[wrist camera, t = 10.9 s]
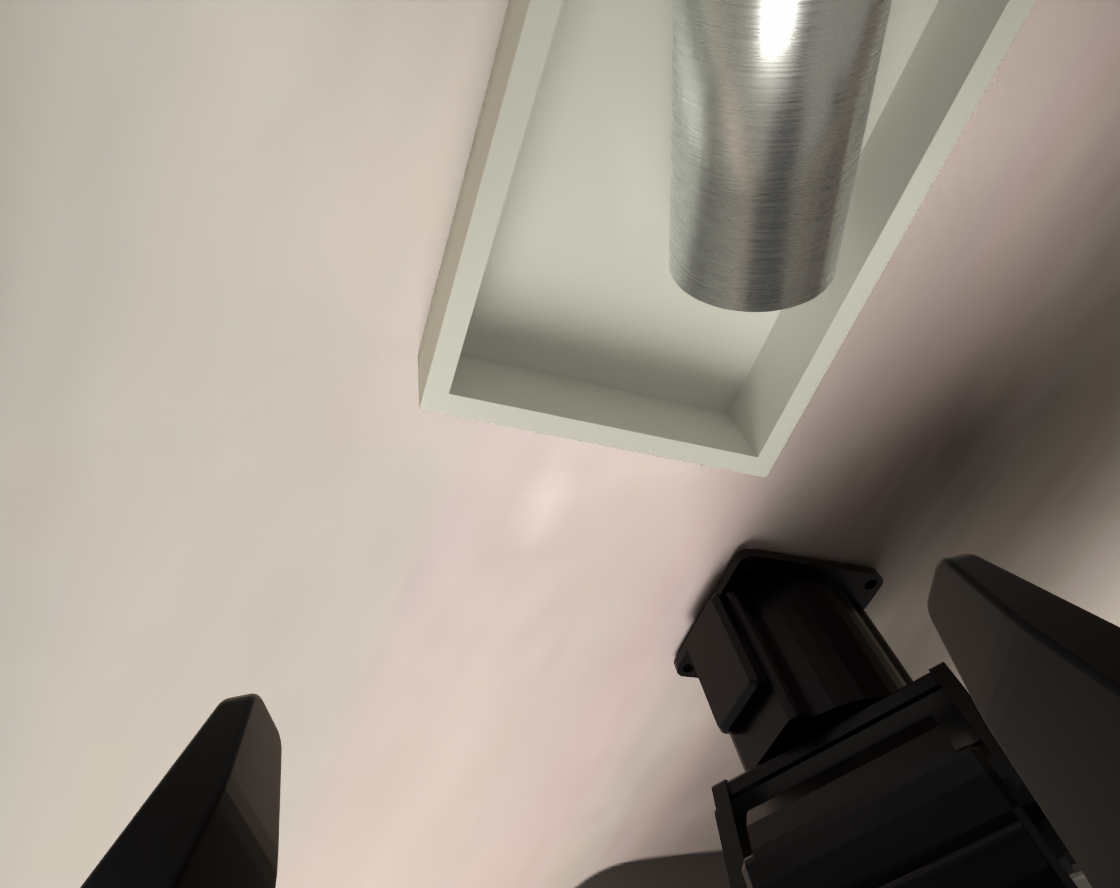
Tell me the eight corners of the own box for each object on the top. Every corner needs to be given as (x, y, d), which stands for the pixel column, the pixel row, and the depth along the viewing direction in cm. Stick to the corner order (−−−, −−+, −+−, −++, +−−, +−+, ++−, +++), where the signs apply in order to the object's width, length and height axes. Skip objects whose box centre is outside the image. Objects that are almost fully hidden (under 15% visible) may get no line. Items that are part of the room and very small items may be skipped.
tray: (1104, -305, 15) (1236, -353, 13) (729, 423, 24) (766, 477, 22) (668, -611, 12) (733, -752, 10) (417, 355, 21) (419, 409, 19)
